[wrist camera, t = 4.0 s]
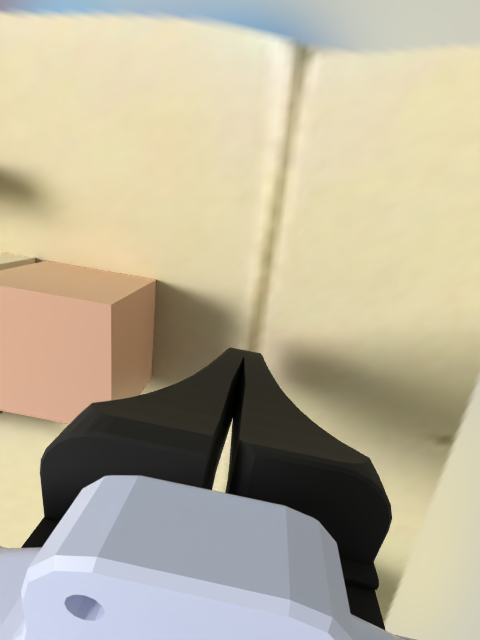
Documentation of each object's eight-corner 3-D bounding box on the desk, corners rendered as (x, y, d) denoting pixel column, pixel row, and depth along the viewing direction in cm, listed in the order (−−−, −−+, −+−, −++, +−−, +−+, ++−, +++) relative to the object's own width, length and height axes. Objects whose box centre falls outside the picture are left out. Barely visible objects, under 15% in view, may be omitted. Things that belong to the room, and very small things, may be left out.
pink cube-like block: (157, 278, 13) (111, 304, 9) (152, 377, 15) (111, 432, 11) (48, 260, 13) (-40, 278, 10) (56, 359, 15) (-16, 407, 11)
